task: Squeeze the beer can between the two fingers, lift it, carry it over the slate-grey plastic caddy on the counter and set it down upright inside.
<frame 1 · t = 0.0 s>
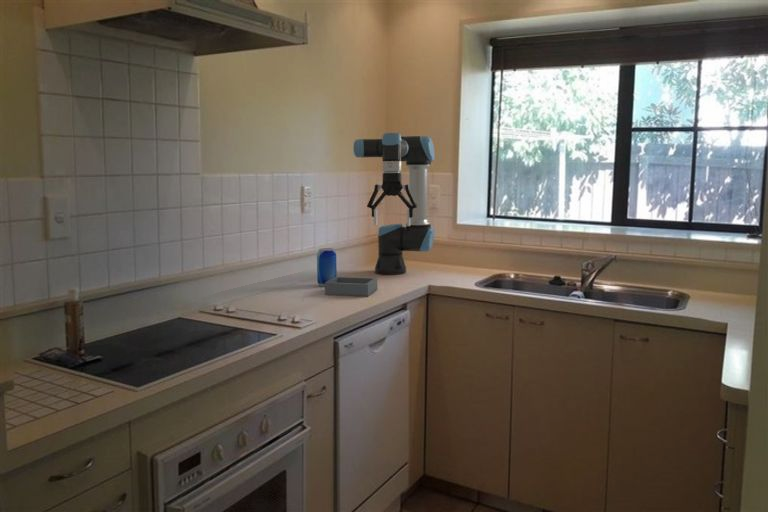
hand: (392, 225, 265), 28 cm above the worktop, fingers open, 13 cm apart
beer can: (327, 285, 288), on the worktop
caddy: (351, 292, 272), on the worktop
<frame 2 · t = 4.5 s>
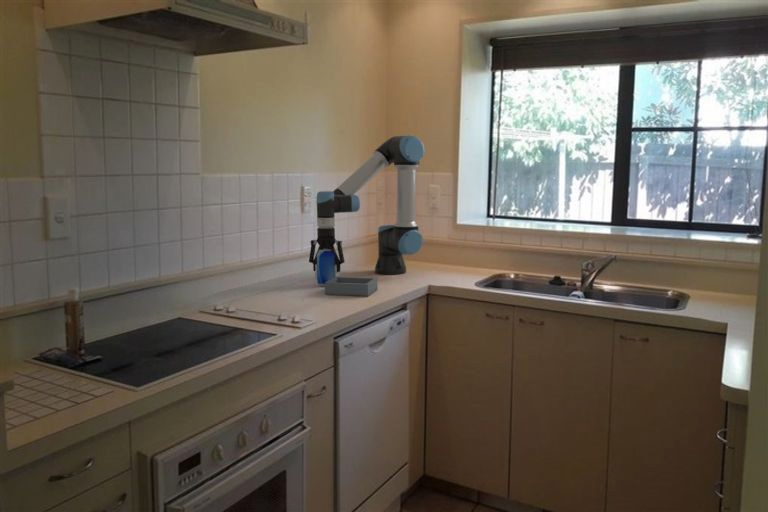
hand: (327, 278, 287), 3 cm above the worktop, fingers closed on beer can, 8 cm apart
beer can: (327, 285, 288), on the worktop, touching gripper
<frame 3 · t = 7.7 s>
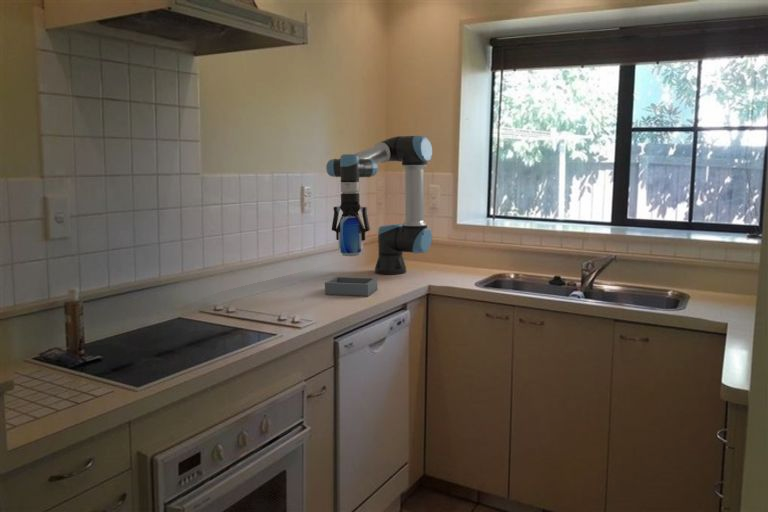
hand: (350, 248, 270), 18 cm above the worktop, fingers closed on beer can, 8 cm apart
beer can: (350, 255, 270), point 15 cm above the worktop, touching gripper
when the fingers open (5 cm above the worktop, at t = 10.8 s): beer can drops 2 cm, resting on caddy.
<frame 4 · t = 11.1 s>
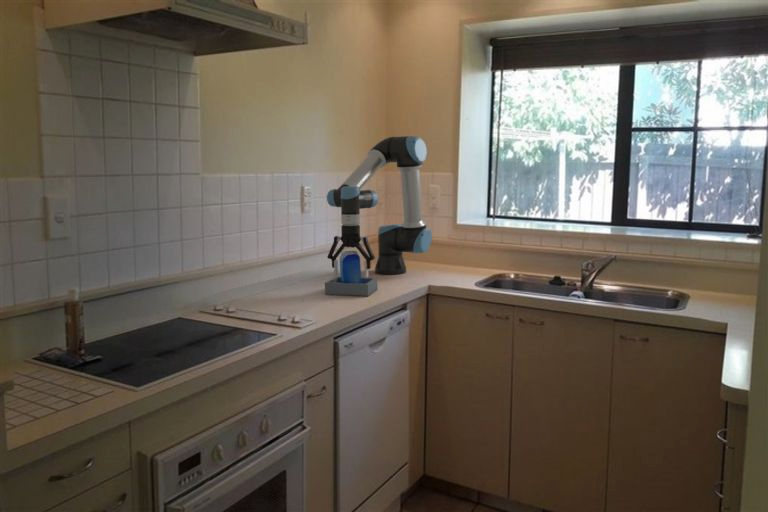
hand: (351, 276, 271), 7 cm above the worktop, fingers open, 12 cm apart
beer can: (351, 290, 272), point 1 cm above the worktop, touching caddy
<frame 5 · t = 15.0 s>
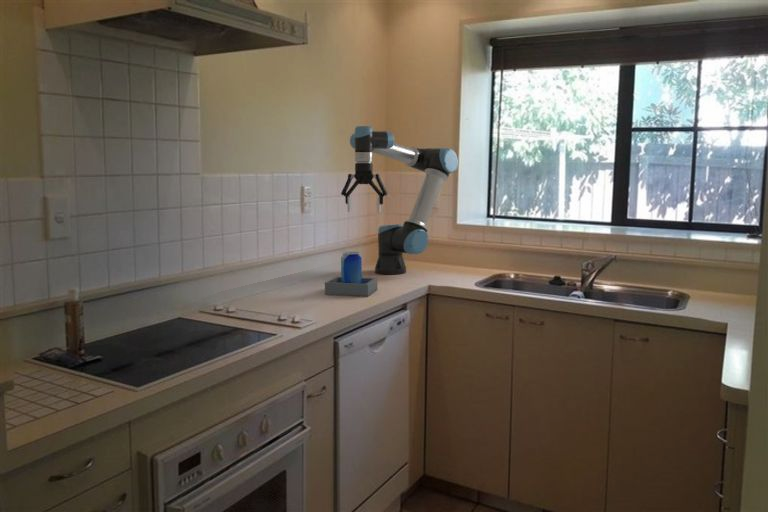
hand: (364, 211, 287), 32 cm above the worktop, fingers open, 13 cm apart
at the end: beer can inside the target area on the caddy (0.2 cm from its centre), point 0.4 cm above the caddy's base; beer can tilted 0°; the gripper is holding nothing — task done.
